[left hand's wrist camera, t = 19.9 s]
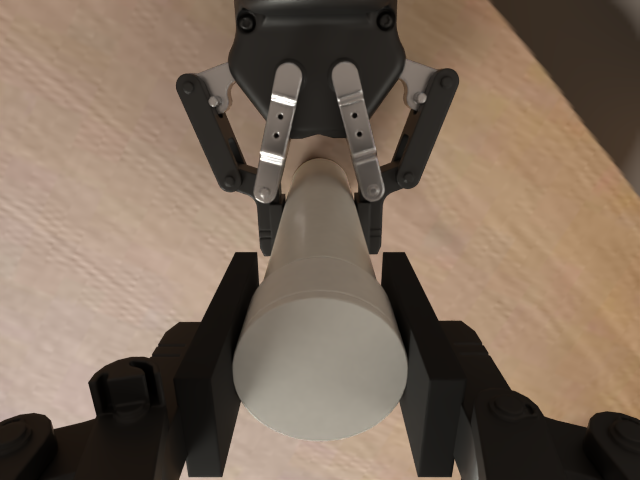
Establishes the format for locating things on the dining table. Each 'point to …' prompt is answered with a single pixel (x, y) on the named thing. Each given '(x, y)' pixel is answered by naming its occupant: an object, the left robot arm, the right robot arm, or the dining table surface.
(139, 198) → the dining table surface
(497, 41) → the dining table surface
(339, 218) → the white tall cylinder
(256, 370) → the lid
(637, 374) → the dining table surface
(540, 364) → the dining table surface
